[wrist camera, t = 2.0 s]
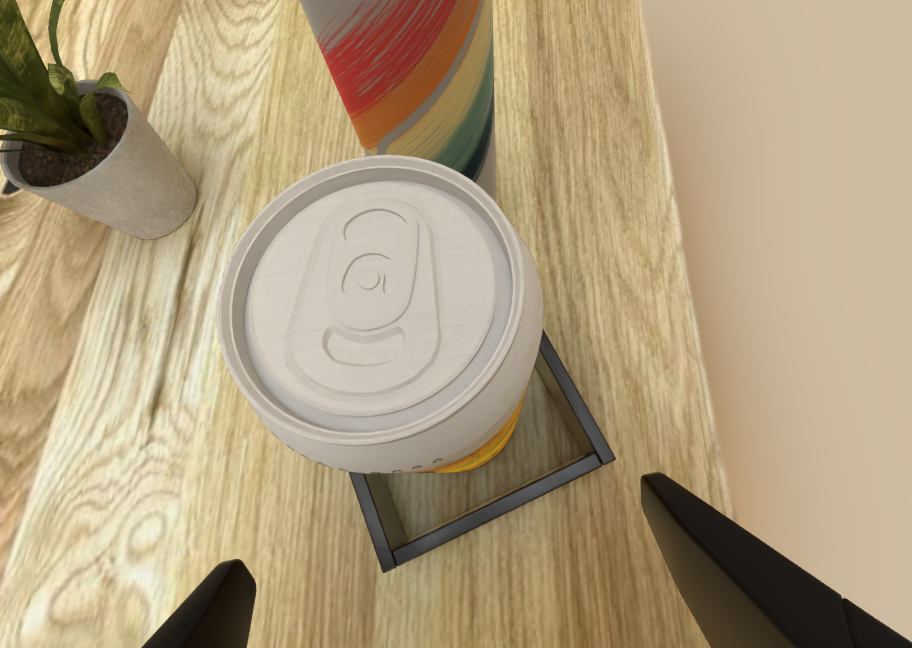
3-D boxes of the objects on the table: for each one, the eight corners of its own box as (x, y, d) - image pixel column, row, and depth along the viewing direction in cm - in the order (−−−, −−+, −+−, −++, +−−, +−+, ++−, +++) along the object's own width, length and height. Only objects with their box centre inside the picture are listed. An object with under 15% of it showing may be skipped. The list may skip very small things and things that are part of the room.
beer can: (390, 469, 21) (151, 464, 7) (401, 348, 23) (235, 143, 8) (517, 475, 20) (556, 484, 6) (517, 349, 22) (545, 129, 8)
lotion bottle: (385, 205, 26) (64, -526, 7) (469, 166, 26) (386, -638, 7) (423, 281, 24) (122, -442, 5) (514, 238, 24) (559, -599, 5)
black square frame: (600, 461, 20) (616, 459, 17) (400, 559, 19) (382, 574, 16) (502, 282, 23) (502, 256, 20) (330, 361, 23) (305, 346, 20)
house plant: (7, 203, 29) (-557, -102, 13) (175, 82, 31) (-146, -300, 16) (99, 345, 25) (-575, 136, 9) (287, 193, 27) (-4, -183, 11)
